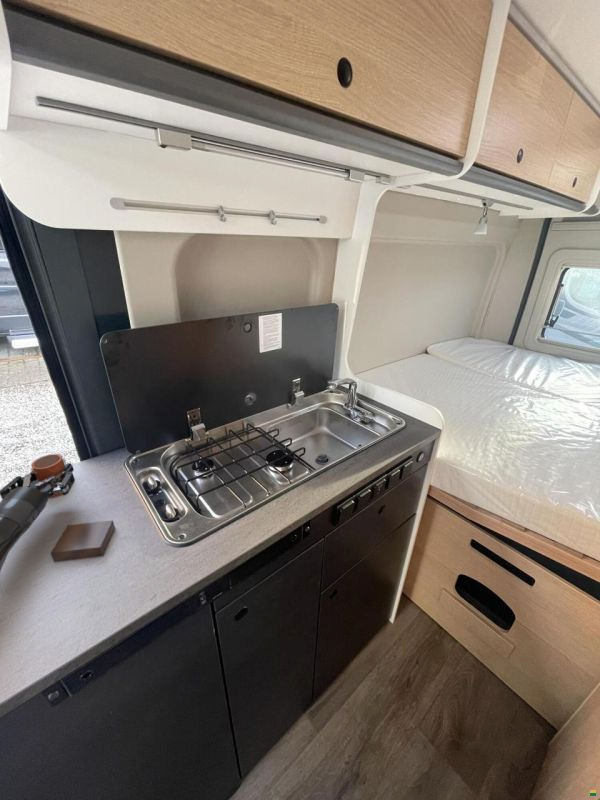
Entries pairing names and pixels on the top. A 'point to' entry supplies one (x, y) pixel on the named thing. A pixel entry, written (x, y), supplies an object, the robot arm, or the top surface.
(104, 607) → the top surface
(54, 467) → the canister
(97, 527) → the walnut block
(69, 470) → the robot arm
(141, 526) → the top surface
